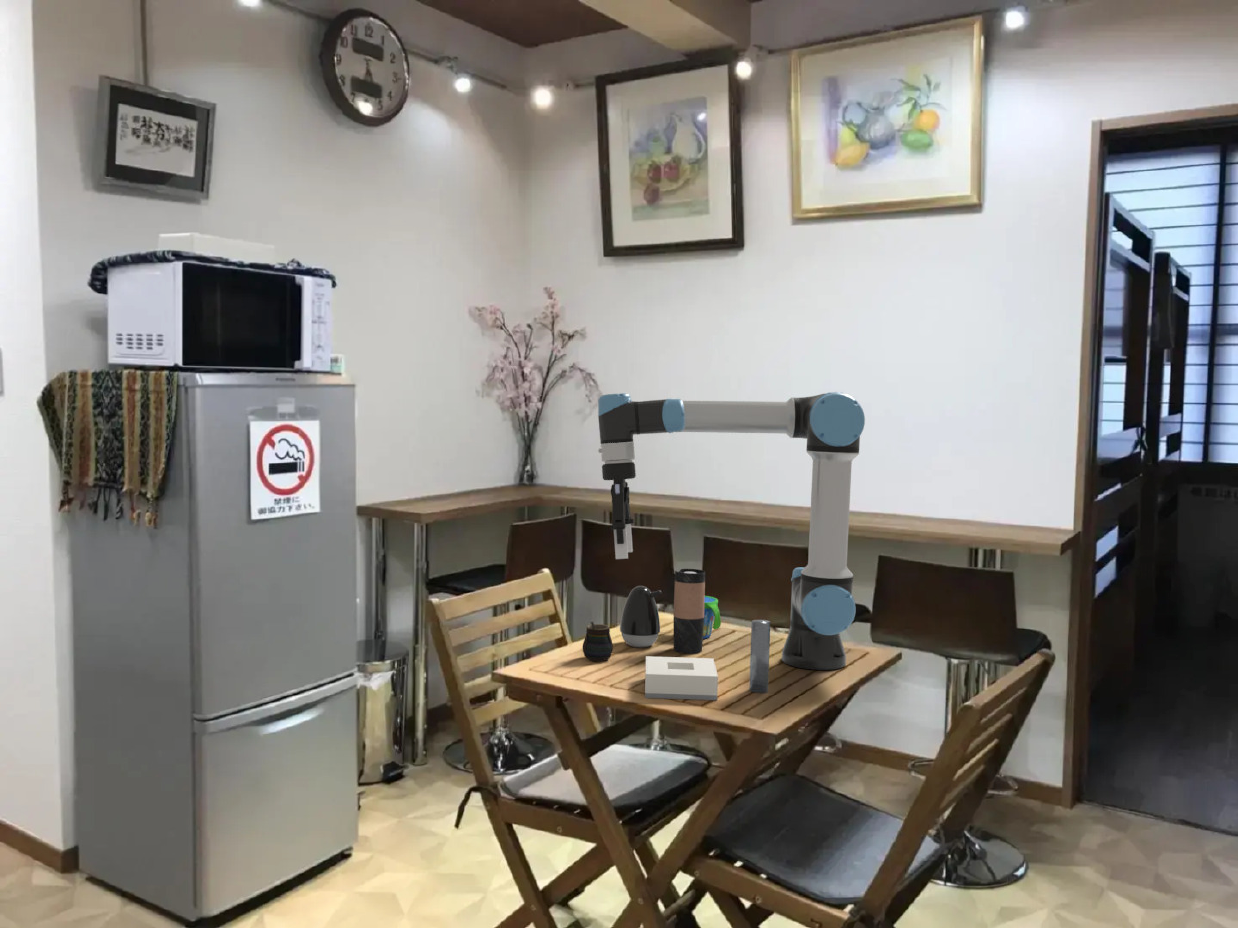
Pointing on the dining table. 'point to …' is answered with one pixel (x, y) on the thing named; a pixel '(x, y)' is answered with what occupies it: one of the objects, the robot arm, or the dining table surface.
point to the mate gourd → (597, 642)
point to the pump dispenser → (640, 618)
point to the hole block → (681, 678)
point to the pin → (759, 656)
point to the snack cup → (710, 616)
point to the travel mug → (689, 610)
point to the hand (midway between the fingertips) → (624, 555)
